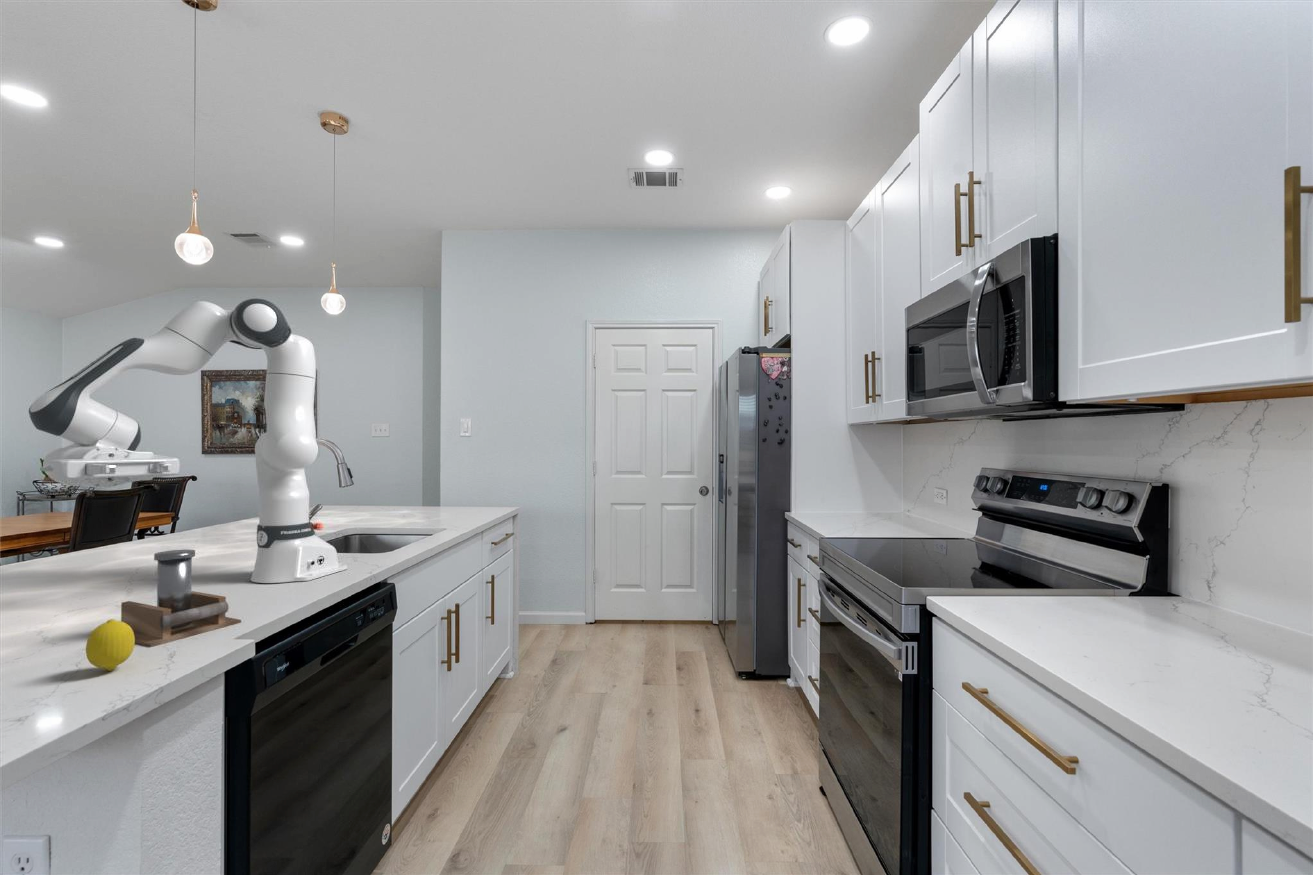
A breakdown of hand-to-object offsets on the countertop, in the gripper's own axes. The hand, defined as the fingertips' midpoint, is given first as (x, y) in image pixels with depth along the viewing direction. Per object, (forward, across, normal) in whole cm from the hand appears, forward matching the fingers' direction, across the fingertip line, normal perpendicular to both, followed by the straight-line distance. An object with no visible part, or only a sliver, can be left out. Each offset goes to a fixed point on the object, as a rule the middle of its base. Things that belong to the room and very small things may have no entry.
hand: (139, 468), depth 118 cm
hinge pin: (+16, -2, +30) cm, 34 cm away
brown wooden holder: (+16, -2, +30) cm, 34 cm away
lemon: (+30, -18, +30) cm, 46 cm away
